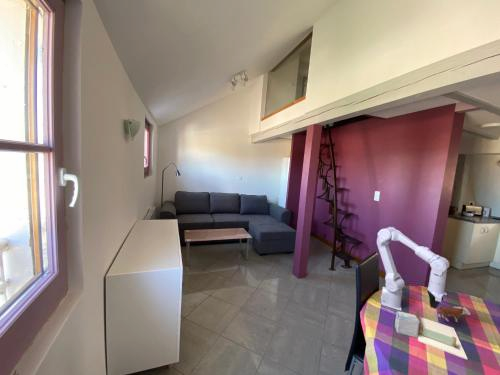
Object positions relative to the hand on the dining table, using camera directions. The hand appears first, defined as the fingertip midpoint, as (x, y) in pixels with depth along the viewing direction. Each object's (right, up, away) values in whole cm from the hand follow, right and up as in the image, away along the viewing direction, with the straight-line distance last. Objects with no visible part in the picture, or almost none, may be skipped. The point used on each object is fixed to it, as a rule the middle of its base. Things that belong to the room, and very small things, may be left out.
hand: (433, 307), depth 105 cm
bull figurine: (+14, -10, +5) cm, 18 cm away
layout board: (-3, -10, -5) cm, 12 cm away
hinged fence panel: (-7, -9, -9) cm, 15 cm away
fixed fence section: (-8, -9, 0) cm, 12 cm away
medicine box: (-17, -9, -5) cm, 20 cm away
